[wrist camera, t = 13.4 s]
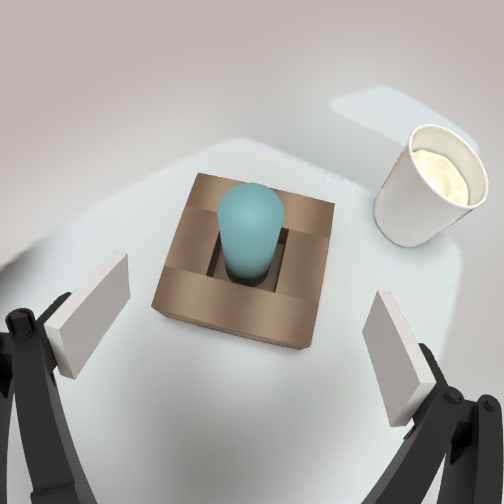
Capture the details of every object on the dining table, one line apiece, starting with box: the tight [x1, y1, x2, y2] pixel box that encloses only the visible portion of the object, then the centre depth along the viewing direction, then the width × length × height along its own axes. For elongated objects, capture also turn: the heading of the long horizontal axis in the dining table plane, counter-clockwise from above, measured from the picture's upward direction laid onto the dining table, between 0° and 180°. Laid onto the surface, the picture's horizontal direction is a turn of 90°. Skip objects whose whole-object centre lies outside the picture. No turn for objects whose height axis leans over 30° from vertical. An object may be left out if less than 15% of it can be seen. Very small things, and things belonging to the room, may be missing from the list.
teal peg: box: [217, 183, 284, 287], centre depth 26 cm, size 4×4×12 cm
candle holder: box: [374, 124, 488, 247], centre depth 30 cm, size 10×10×12 cm
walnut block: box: [151, 173, 335, 350], centre depth 31 cm, size 14×14×5 cm
